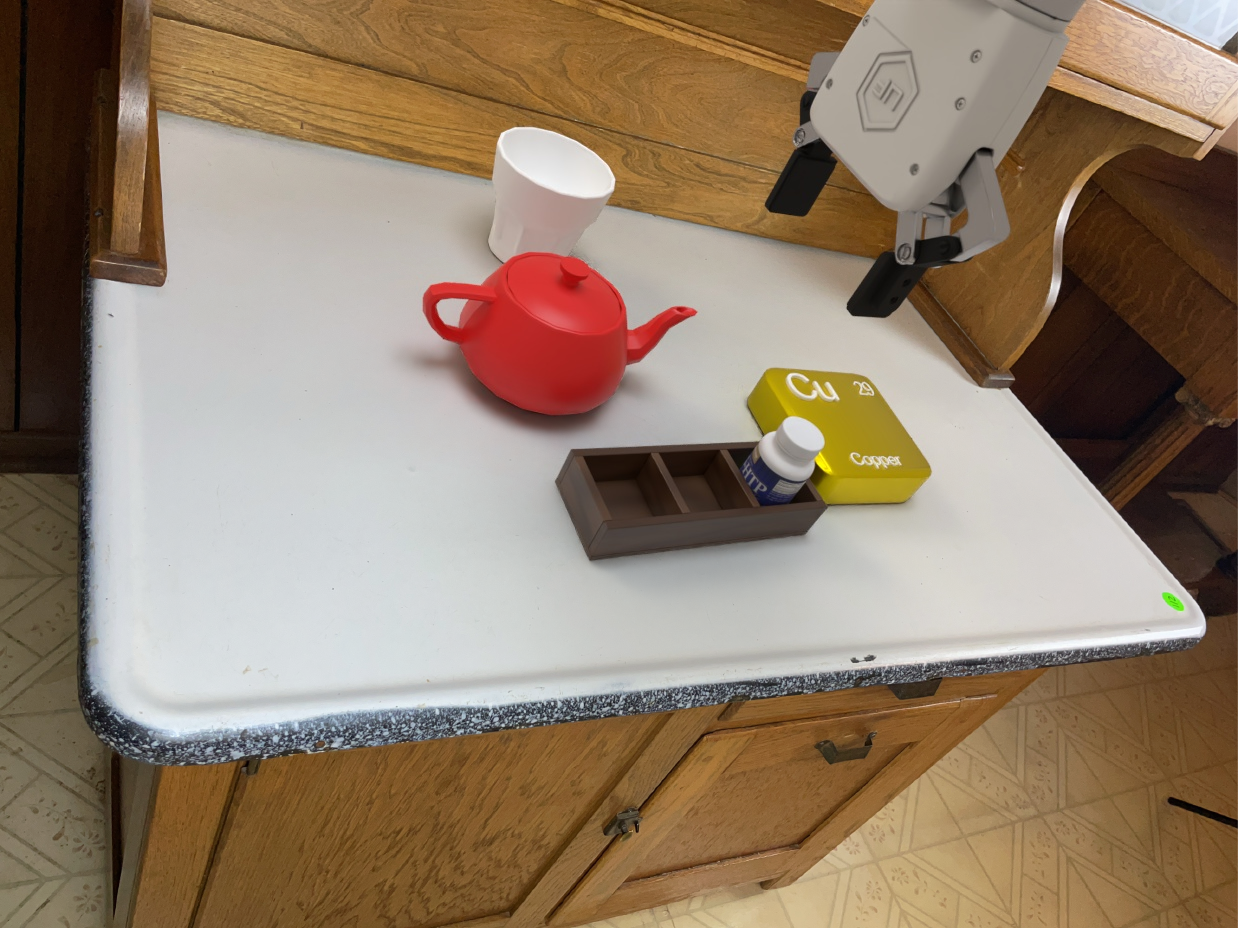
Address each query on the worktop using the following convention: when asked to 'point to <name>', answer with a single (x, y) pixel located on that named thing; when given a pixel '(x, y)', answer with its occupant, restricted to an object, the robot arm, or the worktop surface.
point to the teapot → (547, 332)
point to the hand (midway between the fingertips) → (822, 260)
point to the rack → (673, 499)
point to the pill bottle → (783, 461)
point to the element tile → (844, 434)
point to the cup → (545, 192)
